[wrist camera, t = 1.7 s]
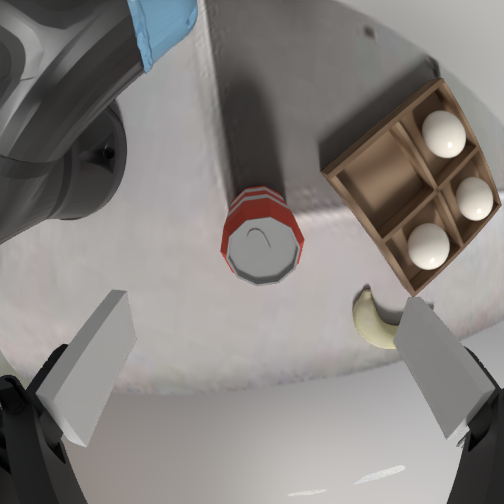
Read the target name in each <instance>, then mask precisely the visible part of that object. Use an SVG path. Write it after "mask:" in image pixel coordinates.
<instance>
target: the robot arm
mask: <svg viewBox="0 0 504 504" xmlns="http://www.w3.org/2000/svg"><path fill="white" fill-rule="evenodd" d="M197 15H198V5H197V0H0V244H2V243H4V242H5V241H7V240H9V239H11V238H12V237H14V236H16V235H18V234H19V233H21V232H23V231H25V230H27V229H29V228H30V227H32V226H34V225H36V224H38V223H40V222H42V221H44V220H46V219H60V220H77V219H81V218H84V217H86V216H88V215H90V214H92V213H94V212H96V211H98V210H99V209H101V208H102V207H103V206H105V205H106V204H107V203H108V202H109V201H110V199H111V198H112V197H113V195H114V194H115V192H116V191H117V189H118V187H119V185H120V183H121V180H122V177H123V174H124V170H125V165H126V155H127V148H126V139H125V134H124V130H123V127H122V125H121V123H120V121H119V119H118V117H117V115H116V114H115V113H114V111H113V110H112V109H111V108H110V107H109V106H108V105H109V104H110V103H111V102H112V101H113V100H114V99H115V98H116V97H117V96H118V95H119V94H120V93H121V92H122V91H123V90H125V89H126V88H127V87H128V86H129V85H130V84H131V83H132V82H134V81H135V80H136V79H137V78H138V77H139V76H141V75H142V74H143V73H144V72H145V73H147V72H149V71H150V70H151V69H152V66H153V64H154V63H155V62H156V61H157V60H159V59H160V58H161V57H162V56H163V55H164V54H165V53H166V52H168V51H169V50H170V49H171V48H172V47H174V46H175V45H176V44H177V43H179V42H180V41H181V40H183V39H184V38H185V37H186V36H187V35H188V34H189V33H190V32H191V30H192V29H193V27H194V25H195V23H196V20H197ZM136 340H137V337H136V333H135V329H134V324H133V320H132V315H131V310H130V305H129V300H128V295H127V291H122V290H112V291H111V292H110V293H109V294H108V295H107V297H106V298H105V299H104V300H103V302H102V303H101V304H100V305H99V306H98V308H97V309H96V310H95V311H94V313H93V314H92V315H91V317H90V318H89V319H88V320H87V322H86V323H85V324H84V326H83V327H82V328H81V329H80V331H79V332H78V333H77V335H76V336H75V337H74V339H73V340H72V341H71V343H70V344H69V345H67V344H62V345H61V346H60V347H58V348H57V349H55V350H54V351H53V352H52V354H51V355H50V357H49V358H48V361H46V362H45V363H44V365H43V368H41V369H40V370H39V372H38V373H37V374H36V376H35V377H34V379H33V380H32V382H31V383H30V385H29V386H28V387H27V389H26V390H25V389H24V388H23V386H22V385H21V383H20V381H19V380H18V379H17V378H16V377H15V376H12V375H4V376H2V377H0V504H88V503H87V501H86V499H85V497H84V495H83V493H82V491H81V488H80V486H79V484H78V482H77V479H76V477H75V474H74V472H73V469H72V467H71V464H70V461H69V459H68V456H67V453H66V450H65V447H64V444H63V442H62V440H61V437H62V435H63V433H64V434H65V436H66V437H67V438H68V439H69V441H71V442H73V443H76V444H79V445H82V446H84V447H87V446H88V443H89V441H90V439H91V436H92V434H93V431H94V429H95V427H96V424H97V422H98V420H99V418H100V415H101V413H102V411H103V408H104V406H105V404H106V402H107V400H108V397H109V395H110V393H111V391H112V389H113V387H114V384H115V382H116V380H117V378H118V376H119V374H120V372H121V370H122V368H123V366H124V364H125V362H126V359H127V357H128V355H129V353H130V351H131V349H132V347H133V345H134V343H135V342H136ZM393 343H394V345H395V347H396V348H397V350H398V352H399V353H400V355H401V357H402V358H403V360H404V362H405V363H406V365H407V367H408V368H409V370H410V372H411V374H412V376H413V377H414V379H415V381H416V383H417V384H418V386H419V388H420V390H421V391H422V393H423V395H424V397H425V399H426V401H427V403H428V404H429V406H430V408H431V410H432V412H433V414H434V416H435V418H436V420H437V422H438V424H439V426H440V428H441V430H442V432H443V434H444V436H445V438H446V440H447V439H450V438H452V437H454V436H457V435H459V434H460V433H461V432H462V431H463V430H464V429H465V427H466V426H467V425H468V427H469V429H470V430H469V431H468V432H467V433H466V435H465V436H464V437H463V438H462V439H461V440H460V441H459V442H458V444H457V447H459V446H460V445H461V443H462V442H463V441H465V442H464V445H463V446H462V447H461V448H463V451H462V455H461V459H460V463H459V467H458V470H457V474H456V477H455V480H454V484H453V487H452V490H451V493H450V496H449V498H448V501H447V504H504V388H503V389H501V388H500V387H499V385H498V384H497V383H496V381H495V380H494V378H493V377H492V376H491V375H490V373H489V372H488V371H487V369H486V368H484V365H483V364H482V363H481V362H479V359H478V358H477V357H476V355H475V354H474V353H473V352H472V351H470V350H469V349H468V348H466V347H465V346H463V345H462V344H461V343H460V341H459V340H458V339H457V338H456V337H455V335H454V334H453V333H452V332H451V331H450V330H449V328H448V327H447V326H446V325H445V324H444V323H443V321H442V320H441V319H440V318H439V317H438V316H437V315H436V314H435V312H434V311H433V310H432V309H431V308H430V307H429V306H428V305H427V304H426V303H425V301H424V300H423V299H422V298H421V297H408V300H407V303H406V306H405V309H404V312H403V315H402V318H401V321H400V324H399V327H398V329H397V332H396V335H395V337H394V340H393Z"/></svg>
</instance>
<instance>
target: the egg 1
mask: <svg viewBox="0 0 504 504" xmlns="http://www.w3.org/2000/svg"><path fill="white" fill-rule="evenodd" d="M422 136H423V139H424V142H425V144H426V146H427V147H428V148H429V150H430V151H431V152H433V153H434V154H435V155H437V156H440V157H443V158H452V157H455V156H457V155H458V154H459V153H460V152H461V151H462V150H463V148H464V146H465V142H466V133H465V129H464V127H463V125H462V123H461V122H460V120H459V119H458V118H457V117H456V116H455V115H453V114H452V113H450V112H447V111H442V110H440V111H434V112H432V113H430V114H429V115H428V116H427V117H426V118H425V120H424V122H423V125H422Z"/></svg>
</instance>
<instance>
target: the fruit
mask: <svg viewBox="0 0 504 504" xmlns="http://www.w3.org/2000/svg"><path fill="white" fill-rule="evenodd" d="M353 318H354V323H355V326H356V328H357V330H358V331H359V333H360V334H361V335H362V336H363V338H364V339H366V340H367V341H368V342H369V343H371V344H372V345H374V346H377V347H381V348H385V349H396V347H395V345H394V343H393V340H394V337H395V335H396V332H397V329H398V327H399V325H396V326H394V325H388V324H386V323H384V322H383V321H382V320H381V319H380V318H379V316H378V314H377V311H376V308H375V305H374V303H373V300H372V297H371V290H369V289H366V290H365V289H364V290H363V292H362V294H361V296H360V297H359V299H358V300H357V302H356V303H355V305H354V308H353Z"/></svg>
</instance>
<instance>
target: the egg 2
mask: <svg viewBox="0 0 504 504" xmlns="http://www.w3.org/2000/svg"><path fill="white" fill-rule="evenodd" d="M449 247H450V245H449V239H448V237H447V234H446V233H445V231H444V230H443V229H442V228H441V227H439V226H438V225H436V224H433V223H424V224H421V225H419V226H417V227H416V228H415V229H414V230H413V231H412V232H411V234H410V236H409V239H408V244H407V249H408V254H409V256H410V258H411V260H412V261H413V263H414V264H415V265H417V266H418V267H420V268H422V269H426V270H430V269H435V268H437V267H439V266H440V265H442V264H443V263H444V262H445V260H446V258H447V256H448V254H449Z"/></svg>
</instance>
